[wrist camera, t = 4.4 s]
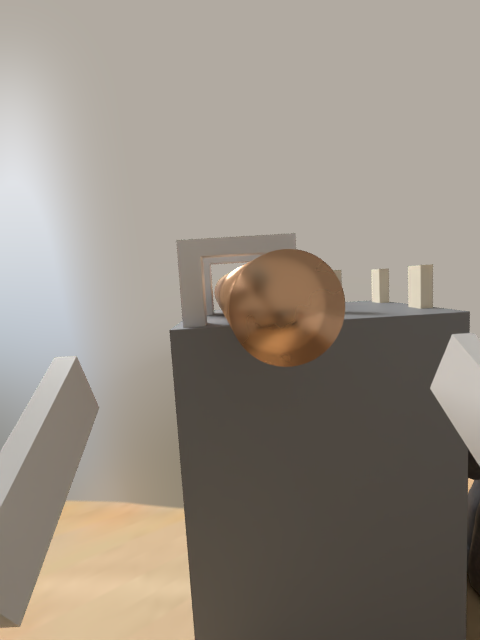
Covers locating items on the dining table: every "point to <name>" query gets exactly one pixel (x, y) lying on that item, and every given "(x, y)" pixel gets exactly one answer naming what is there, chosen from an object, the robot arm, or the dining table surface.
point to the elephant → (473, 524)
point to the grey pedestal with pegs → (320, 468)
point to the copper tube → (283, 306)
